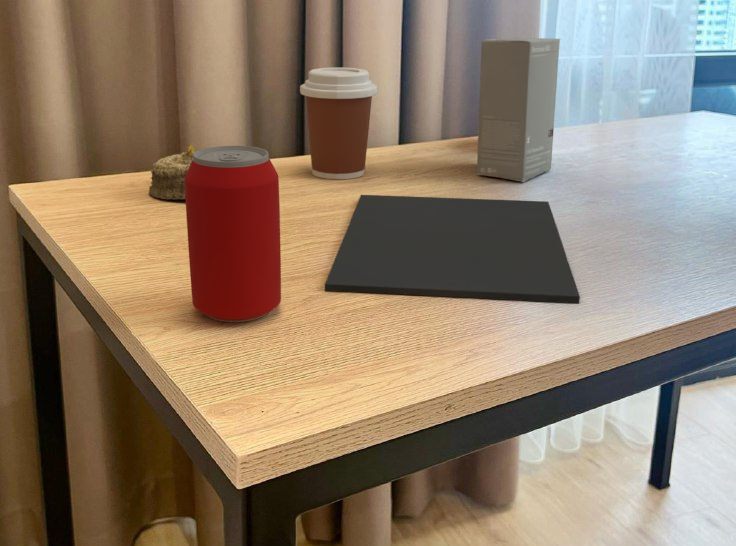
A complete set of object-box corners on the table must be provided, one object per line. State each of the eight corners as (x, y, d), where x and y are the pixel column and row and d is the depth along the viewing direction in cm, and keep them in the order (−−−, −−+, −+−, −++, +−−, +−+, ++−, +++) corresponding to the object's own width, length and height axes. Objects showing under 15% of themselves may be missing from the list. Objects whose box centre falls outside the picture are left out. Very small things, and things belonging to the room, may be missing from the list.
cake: (156, 211, 95) (147, 161, 93) (144, 189, 104) (136, 143, 102) (247, 196, 98) (241, 147, 96) (228, 176, 107) (222, 131, 104)
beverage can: (282, 293, 72) (279, 143, 67) (281, 326, 65) (277, 163, 61) (197, 294, 71) (187, 143, 67) (188, 328, 65) (177, 164, 60)
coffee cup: (356, 185, 104) (358, 78, 99) (287, 176, 107) (285, 73, 102) (387, 168, 111) (390, 69, 106) (321, 161, 115) (321, 64, 110)
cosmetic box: (523, 184, 104) (535, 41, 98) (469, 175, 108) (477, 37, 102) (554, 170, 111) (567, 36, 104) (502, 162, 115) (512, 32, 108)
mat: (547, 206, 95) (548, 201, 95) (579, 303, 70) (579, 296, 70) (360, 199, 98) (360, 194, 98) (324, 290, 72) (324, 283, 72)
